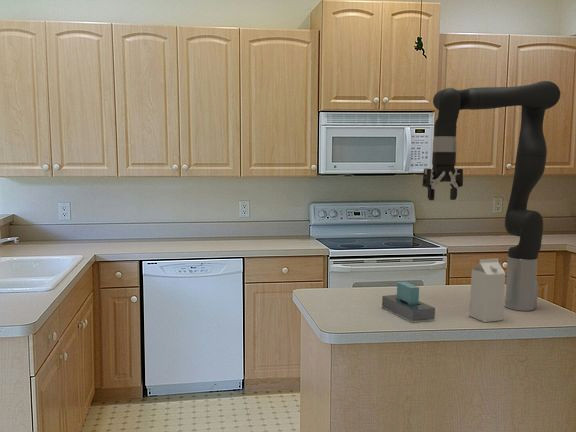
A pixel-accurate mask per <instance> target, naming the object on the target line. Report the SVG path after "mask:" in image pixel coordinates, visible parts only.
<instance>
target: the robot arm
mask: <svg viewBox="0 0 576 432" xmlns="http://www.w3.org/2000/svg"><path fill="white" fill-rule="evenodd" d="M560 99H561V90H560V88H559V86H558V85H557V84H556V83H555V82H553V81H550V80H541V81H537V82H535V83H531V84H525V85H517V86H491V87H490V86H488V87H487V86H486V87H469V88H465V89H455V88H453V87H446V88H444V89H441V90H439V91H437V92H436V93H435V95H434V96H433V98H432V103H433V107H434V108H435V109H436V110H438V114H437V118H436V120H435V122H434V129H433V139H432V140H433V141H432V154H431V156H432V159H431V164H432V168H424V169H423V176H422V177H423V178H422V187H423V188H424V187H425V188H427V199H428V201H435V195H436V194H435V192H436V191H435V187H436V186H437V184H439V183H444V182H445V183H447V184H448V185H449V186H450V191H449V192H450V193H449V199H450V200H452V201H456V199H457V198H458V189H459V188H461V187H463V185H464V169H463V168H455V166H456V162H457V122H458V119H459V115H460V111H462V110H469V111H470V110H472V111H473V110H474V111H475V110H479V111H480V110H491V109H492V110H493V109H500V108H506V107H519V106H520V107H521V112H520V113H521V117H520V118H521V119H520V131H519V136H518V143H517V151H516V155H515V156H516V158H515V163H514V171H513V172H514V173H513V174H514V175H513V179H512V186H511V190H510V191H511V192H510V197H509V200H508V201H509V202H508V206H507V208H506V213H505V218H504V228H505V230H506V233H507V234H509V235H511V236H514V237H519V241H518V244H517V245H515V246H511V247H509V248H508V252H507V266H506V267H507V269H506V270H507V271H506V280H505V297H504V306H505V307H506V308H508V309H509V310H515V311H521V312H522V311H523V312H524V311H525V312H530V311H534V310H536V309H537V308H538V306H537V305H538V294H539V293H538V292H539V280H537V273H538V272H537V271H538V260H539V259H538V257H539V253H540V251H541V248H542V242H543V241H542V240H543V232H544V219H543V216H542V214H541V213H540V212H539V211H536V210H532V209H531V210H529V209H527V208H528V202H529V198H530V195H531V192H532V191H533V189H534V188H535V187H536V185H537V184H538V182H539V181H540V179H541V178H542V177H543V175H544V173H545V170H546V169H545V168H546V161H547V156H548V154H547V153H548V149H547V142H546V138H545V135H544V126H543V125H544V120H545V114H546V110H549V109H551V108H553V107H554V106H555V105H557V104H558V103H559V100H560ZM454 175H455V176H454Z"/></svg>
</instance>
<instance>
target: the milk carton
mask: <svg viewBox="0 0 576 432" xmlns="http://www.w3.org/2000/svg"><path fill="white" fill-rule="evenodd" d="M470 278H471V279H470V297H469V298H470V299H469V317H471V318H473V319H476V320H477V321H478V320H479V321H481V322H483V323H488V322H489V323H490V322H498V321H503V317H504V305H505V289H506V272H505V270H504V269H503V267H502V265H501V263H499V258H484V259H483V258H482V259H481V258H480V259H479V263H478V264H476V266H474V267H473V268H472V269H471V277H470Z"/></svg>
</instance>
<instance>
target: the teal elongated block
mask: <svg viewBox="0 0 576 432" xmlns="http://www.w3.org/2000/svg"><path fill="white" fill-rule="evenodd" d="M396 295H397V300H398V301H405V302H407V305H409V306H413V305H418V303H419V301H420V300H419V299H420V298H419V297H420V287H419V286H416V285H414V284H412V283H409V282H407V281H401V282H398V281H397V282H396Z"/></svg>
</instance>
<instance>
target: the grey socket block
mask: <svg viewBox="0 0 576 432" xmlns="http://www.w3.org/2000/svg"><path fill="white" fill-rule="evenodd" d="M381 298H382V299H381V308H382V309H384V310H386V311H388V312H390V313H392V314H394V315H396V316H397V317H400V318H402V319H403V320H405V321H408V322H409V323H412V324H415V323H425V322H426V323H427V322H432V321H433V322H435V320H436V317H435V316H436V307H434V306H432V305H429V304H427V303H425V302H423V301H420V300H419V303H418V305H413V306H409V305H407V302H405V301H398V300H397V294H390V295H382V297H381Z"/></svg>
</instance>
